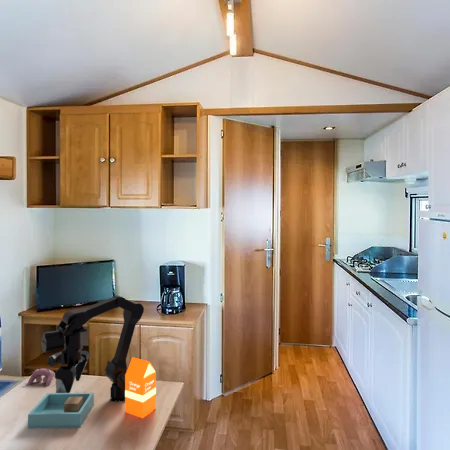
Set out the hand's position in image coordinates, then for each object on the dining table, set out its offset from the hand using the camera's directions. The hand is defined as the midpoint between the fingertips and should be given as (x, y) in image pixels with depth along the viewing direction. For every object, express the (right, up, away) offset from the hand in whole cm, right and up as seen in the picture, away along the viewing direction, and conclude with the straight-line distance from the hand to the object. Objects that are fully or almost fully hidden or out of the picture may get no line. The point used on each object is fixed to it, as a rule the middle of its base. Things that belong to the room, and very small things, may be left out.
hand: (73, 386), depth 135 cm
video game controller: (-25, -10, +26) cm, 37 cm away
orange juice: (+24, -11, +4) cm, 27 cm away
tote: (-4, -11, 0) cm, 12 cm away
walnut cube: (0, -10, 0) cm, 10 cm away
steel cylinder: (-11, -10, +17) cm, 23 cm away
